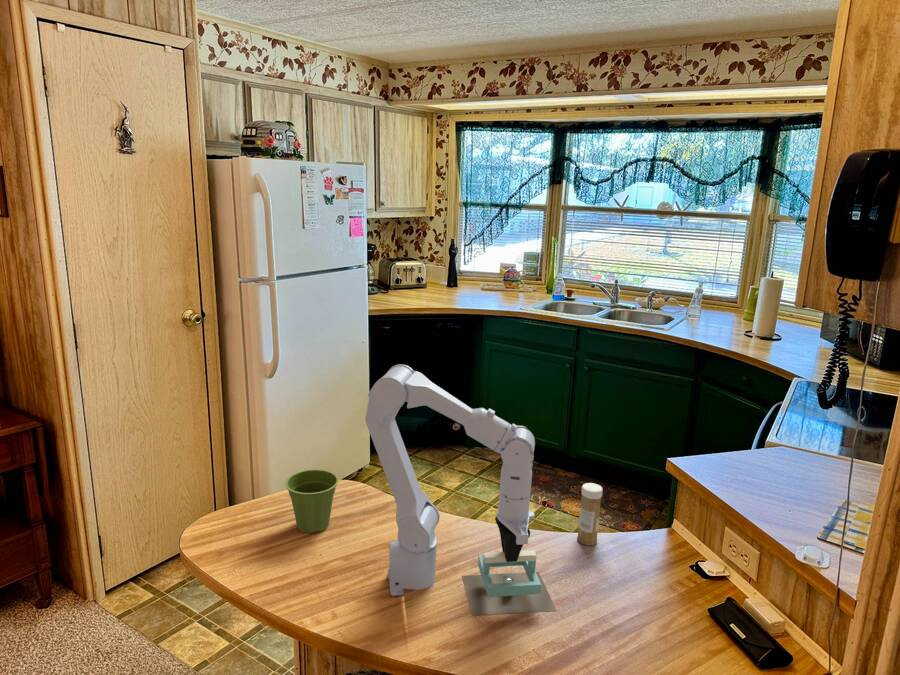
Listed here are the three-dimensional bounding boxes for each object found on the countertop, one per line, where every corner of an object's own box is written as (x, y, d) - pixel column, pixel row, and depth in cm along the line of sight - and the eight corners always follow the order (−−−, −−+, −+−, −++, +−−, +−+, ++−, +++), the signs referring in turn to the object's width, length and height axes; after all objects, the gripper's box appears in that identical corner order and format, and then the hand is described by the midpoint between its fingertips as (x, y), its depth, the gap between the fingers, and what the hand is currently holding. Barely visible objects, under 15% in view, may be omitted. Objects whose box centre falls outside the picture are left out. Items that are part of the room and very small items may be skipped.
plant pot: (289, 512, 147) (289, 469, 144) (340, 511, 148) (340, 468, 145) (282, 540, 135) (281, 493, 133) (336, 539, 137) (336, 493, 134)
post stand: (472, 620, 113) (473, 601, 112) (461, 580, 124) (462, 562, 123) (556, 615, 115) (558, 596, 114) (538, 576, 127) (539, 558, 126)
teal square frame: (488, 596, 113) (489, 571, 112) (477, 564, 123) (479, 540, 122) (540, 593, 115) (542, 568, 113) (526, 562, 124) (528, 538, 123)
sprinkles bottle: (601, 542, 140) (607, 488, 137) (586, 548, 137) (592, 493, 134) (586, 533, 144) (592, 480, 140) (572, 538, 141) (577, 484, 138)
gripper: (547, 511, 108) (541, 579, 111) (525, 474, 122) (520, 535, 125) (508, 513, 107) (502, 581, 110) (490, 475, 121) (486, 536, 124)
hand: (509, 557), depth 118 cm, fingers closed on teal square frame
